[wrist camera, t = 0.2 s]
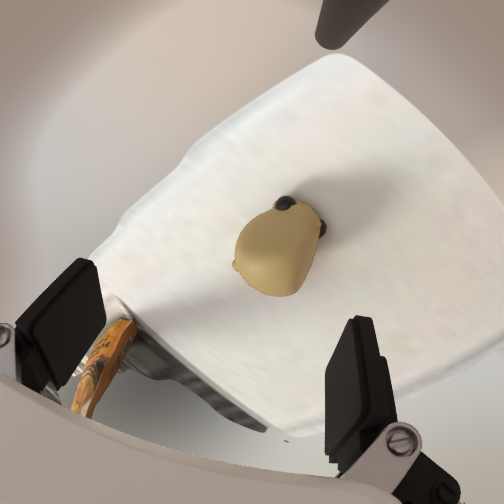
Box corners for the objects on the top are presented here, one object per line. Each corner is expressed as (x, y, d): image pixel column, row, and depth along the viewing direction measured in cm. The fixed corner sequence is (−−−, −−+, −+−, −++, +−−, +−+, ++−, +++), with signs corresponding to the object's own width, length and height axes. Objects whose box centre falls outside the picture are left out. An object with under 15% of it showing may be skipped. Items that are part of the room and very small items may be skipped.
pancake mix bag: (155, 329, 55) (91, 457, 31) (115, 361, 63) (63, 458, 39) (127, 307, 53) (50, 430, 29) (92, 343, 62) (34, 438, 38)
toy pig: (308, 239, 45) (356, 225, 36) (268, 309, 41) (312, 313, 32) (257, 197, 43) (296, 170, 33) (209, 267, 39) (239, 258, 29)
